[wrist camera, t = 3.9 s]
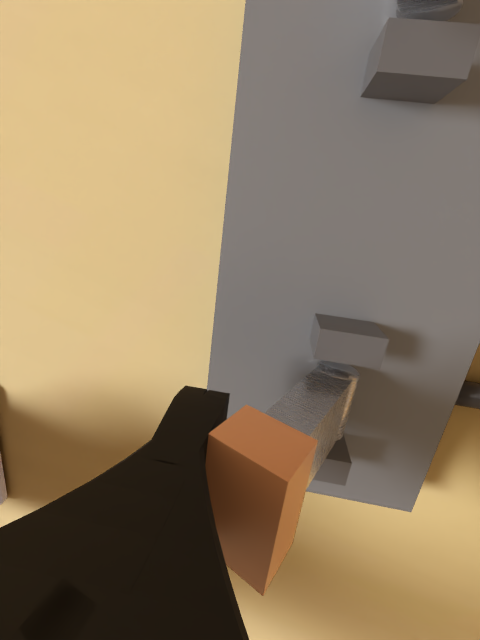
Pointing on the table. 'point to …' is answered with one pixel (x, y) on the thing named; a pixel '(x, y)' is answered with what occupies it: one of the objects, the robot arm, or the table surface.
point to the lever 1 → (273, 468)
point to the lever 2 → (428, 9)
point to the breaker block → (355, 228)
